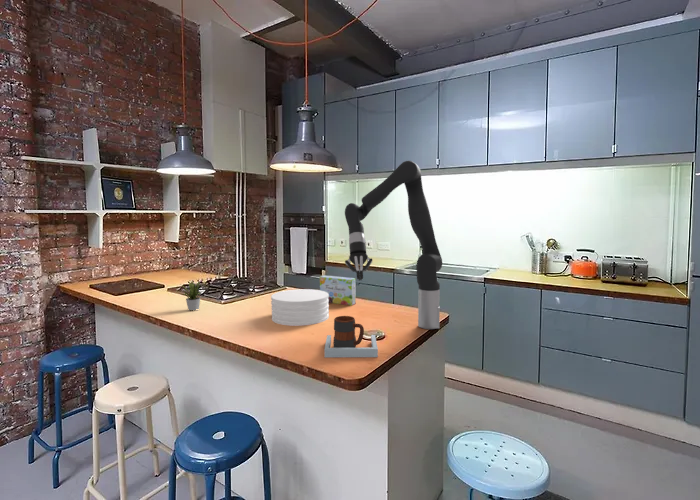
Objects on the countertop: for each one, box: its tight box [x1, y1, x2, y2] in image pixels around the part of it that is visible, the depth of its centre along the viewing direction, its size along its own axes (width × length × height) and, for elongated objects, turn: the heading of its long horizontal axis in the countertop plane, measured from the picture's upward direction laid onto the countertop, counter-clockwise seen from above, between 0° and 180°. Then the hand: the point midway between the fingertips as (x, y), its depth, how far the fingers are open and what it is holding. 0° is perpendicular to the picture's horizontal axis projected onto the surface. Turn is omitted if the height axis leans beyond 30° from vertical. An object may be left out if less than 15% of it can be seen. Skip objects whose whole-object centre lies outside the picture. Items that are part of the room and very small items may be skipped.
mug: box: [333, 315, 365, 348], centre depth 142 cm, size 9×12×12 cm
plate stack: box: [270, 288, 330, 327], centre depth 186 cm, size 28×28×12 cm
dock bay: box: [324, 334, 379, 358], centre depth 142 cm, size 19×16×3 cm
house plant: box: [179, 280, 206, 311], centre depth 201 cm, size 14×14×16 cm
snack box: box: [319, 274, 357, 307], centre depth 215 cm, size 21×6×15 cm, turn 62°
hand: (360, 279), depth 166 cm, fingers closed
